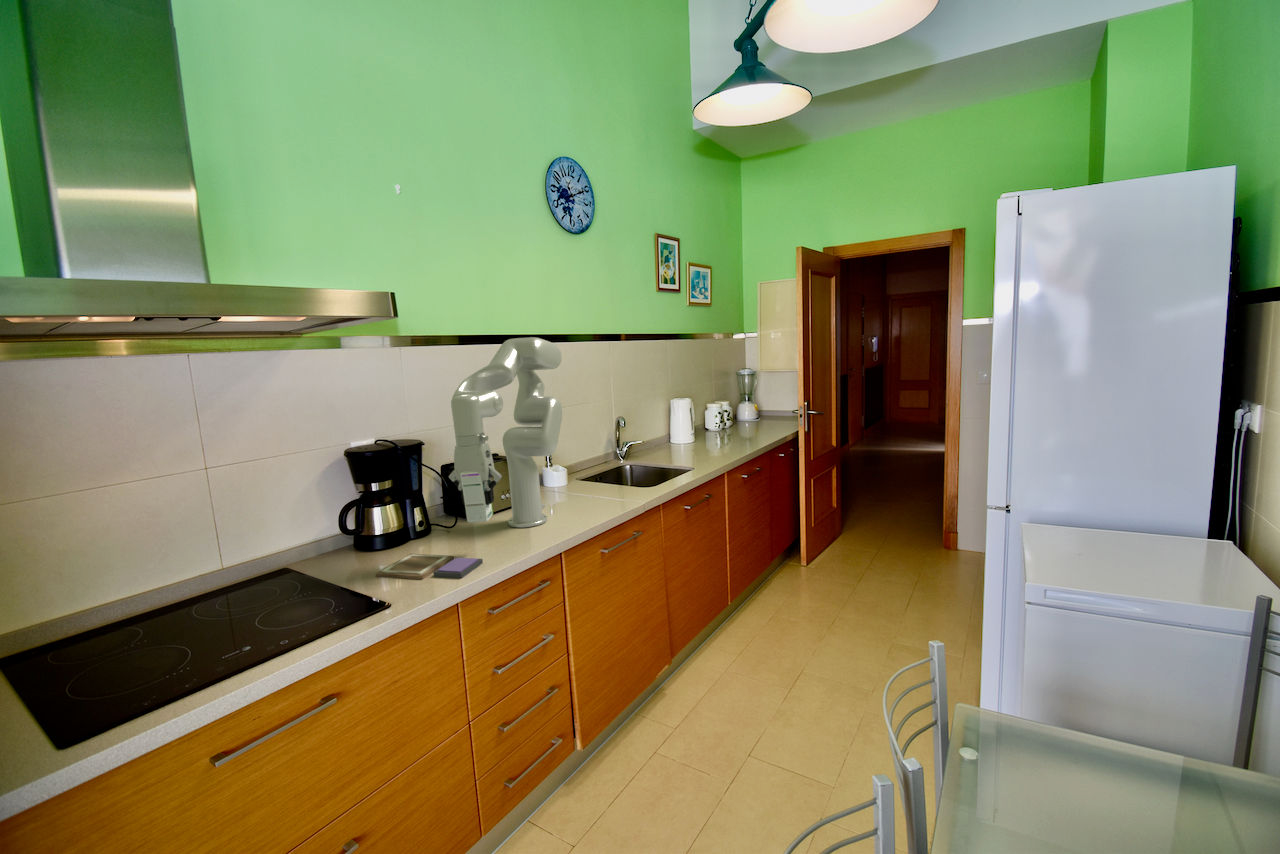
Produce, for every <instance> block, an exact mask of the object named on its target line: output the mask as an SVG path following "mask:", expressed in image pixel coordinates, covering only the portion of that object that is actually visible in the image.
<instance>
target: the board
mask: <svg viewBox="0 0 1280 854" xmlns="http://www.w3.org/2000/svg"><path fill="white" fill-rule="evenodd" d="M453 559H455V556H454V555H445V554H443V555H441V554H425V553H409V554H407V555H406V556H404V557H402V558H401V559H398V560H397V561H395V562H393V563H391V564H389V565H388V566H385V567H384V568H382V569H381V570H378V571H377V572H375V574H374V575H375V577H377V578H393V579H394V578H395V579H396V578H397V579H409V580H411V579H412V580H424V579H425V578H427V577H429V576H431V574H434V571H436V570H438V569H439V568H441V567H442V566H444V565H445V564H447V563H448V562H450V561H451V560H453Z"/></svg>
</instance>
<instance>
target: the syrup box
mask: <svg viewBox="0 0 1280 854" xmlns="http://www.w3.org/2000/svg"><path fill="white" fill-rule="evenodd" d="M460 475H461V482H462V489H463V496H464V502H465V504H464V508H465V515H466V521H467V523H486V522H488V521H489V520H490V519H491V518H492V516H493V515H494V510H493V502H492V503H491V504H489V505H486V501H485V494H484V492H485V491H486V489H485V487H484V485H483V482H482V480H481V476H480V474H479V473H478V472H476V471H465V472H461V473H460Z"/></svg>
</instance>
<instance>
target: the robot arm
mask: <svg viewBox="0 0 1280 854" xmlns="http://www.w3.org/2000/svg"><path fill="white" fill-rule="evenodd" d="M561 362H562V352H561V349H560V348H559V346H558V345H557V344H556V343H554V342H551V341H549V340H547V339H546V340H545V339H543V338H540V337H535V336H534V337H533V336H530V337H517V338H509V339H507V340H504V342H503V343H502V344H501V345H500V347H499V348H498V350H497V351H496V353H495V355H494V356H493V358H492V359H491V360H490V362H489V363H488V364H487V365H485V366H484V367H482V368H480V369H478V370H477V371H475V372H474V373H472V374H470V375H469V376H467V377H466V378H465V379H464V380H462V381H461V383H460V384H459V385H458V387H457V388H456V389H455V391H454V393H453V395H452V398H451V401H450V403H451V405H450V406H451V407H450V408H451V413H452V421H453V430H454V436H455V443H456V445H455V446H454V450H453V451H454V453H453V464H454V469H453V470H452V471H451V473H450V474H449V475H448V478H449V480H451V482H453V484H454V485H455V486H456V488H457V489H458V491H460V497H461V498H460V499H461V502H462V505H465V502H464V496H463V489H462V482H461V475H460V473H461V472H465V471H476V472H478V473H479V474H480V476H481V480H482V482H483V485H484V487H485V489H486V491H485V492H484V494H485V501H486V505H489V504H491V503H492V504H493V503H494V500H495V494H494V489H495V487H496V486H497V484H498V483H499V481H500V480H501V479H502V474H501V473H500V472H499V471H497V469H496V468H495V464H494V459H493V454H492V451H491V448H490V446H489V443H488V442H486V441H489V436H488V435H485V431H484V424H483V419H484V418H494V417H496V416H497V415H499V414H500V413H501V412H502V410H503V407H504V400H503V397H502V396H501V394H500V393H498V392H496V390H499V389H502V388H504V387H507V386H508V385H510V384H511V383H512V382H513V381H514V380H515V378H516V376H517V380H518V389H517V390H518V391H517V395H516V400H515V403H514V404H515V405H514V408H513V409H514V410H513V419H514V421H515V423H516V424H517V425H521V426H516V427H515V426H514V427H510V428H508V429H507V430H506V431H505V432H504V433H503V436H502V447H503V450H504V453H505V458H506V462H507V468H508V469H507V470H508V479H509V480H508V481H509V489H510V491H509V492H510V493H509V494H510V502H511V513H512V514H511V515H512V517H510V518H508V520H507V523H508V526H510V527H512V528H513V527H514V528H521V529H522V528H531V527H536V526H539V525H542V524H544V523H546V522H547V520H548V515H547V514H544V513H543V510H544V509H545V507H546V504H545V503H543V502H542V497H541V495H542V494H541V486H540V485H541V484H540V473H539V472H540V471H539V466H538V464H537V463H536V461H535V460H534V458H533V457H550V456H552V455H553V454H555V452H556V450H557V447H558V442H559V436H560V431H561V426H562V419H563V408H562V403H561V402H560V400H559V399H558V398H557V397H555V396H544V394H545V384H544V382H543V380H542V379H541V377H540V376H539V375H538V374H537V373H536V371H541V370H542V371H543V370H544V371H545V370H555V369H557V368H558V367H559V366H560V365H561ZM492 478H493V479H492Z"/></svg>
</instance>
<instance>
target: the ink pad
mask: <svg viewBox="0 0 1280 854" xmlns="http://www.w3.org/2000/svg"><path fill="white" fill-rule="evenodd" d="M482 564H483V558H472V557H471V558H469V557H454V559H453V560H451V561H450V562H448V563H447V564H445V565H444V566H442V567H441V568H439V569H438V570H436V571H434V572H433V577H434V578H449V579H463V578H464V577H466V576H467V575H468V574H470V573H471V572H472V571H474V570H476V569H477V568H479V567H480V566H481V565H482Z"/></svg>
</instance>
